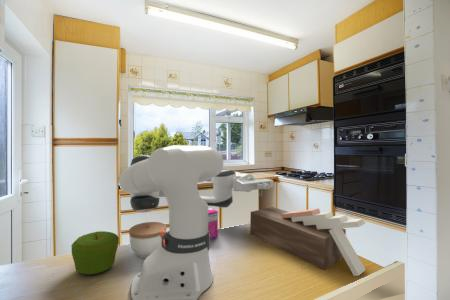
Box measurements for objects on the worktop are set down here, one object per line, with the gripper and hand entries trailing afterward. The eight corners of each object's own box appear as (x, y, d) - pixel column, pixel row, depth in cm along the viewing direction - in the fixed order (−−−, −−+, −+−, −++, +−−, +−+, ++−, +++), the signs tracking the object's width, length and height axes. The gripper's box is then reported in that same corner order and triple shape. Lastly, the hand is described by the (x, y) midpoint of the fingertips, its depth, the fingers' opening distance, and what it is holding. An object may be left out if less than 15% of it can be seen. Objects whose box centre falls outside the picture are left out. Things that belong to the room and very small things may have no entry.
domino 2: (292, 221, 86) (325, 219, 75) (291, 217, 86) (324, 214, 76) (299, 219, 89) (333, 216, 78) (298, 215, 89) (331, 211, 79)
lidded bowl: (155, 264, 73) (155, 230, 73) (121, 259, 76) (121, 227, 75) (171, 246, 85) (172, 218, 85) (142, 243, 88) (142, 215, 88)
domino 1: (282, 218, 90) (312, 215, 79) (281, 214, 90) (311, 210, 79) (289, 216, 93) (320, 212, 82) (288, 212, 93) (318, 208, 82)
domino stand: (323, 269, 71) (324, 238, 71) (250, 234, 98) (250, 211, 98) (344, 257, 79) (345, 229, 79) (271, 227, 106) (272, 206, 106)
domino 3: (304, 225, 82) (341, 222, 71) (302, 221, 82) (339, 217, 72) (311, 222, 85) (348, 219, 75) (310, 218, 85) (346, 214, 75)
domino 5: (328, 230, 74) (354, 276, 68) (332, 229, 73) (358, 275, 67) (336, 227, 77) (360, 270, 71) (340, 225, 76) (365, 269, 70)
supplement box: (199, 236, 96) (199, 209, 95) (210, 233, 99) (211, 207, 99) (206, 241, 91) (206, 213, 90) (218, 237, 94) (218, 210, 94)
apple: (64, 284, 62) (64, 244, 62) (80, 261, 74) (80, 228, 73) (113, 277, 65) (113, 239, 65) (121, 257, 77) (121, 224, 77)
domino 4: (317, 229, 78) (358, 227, 67) (315, 224, 78) (356, 221, 68) (324, 226, 81) (365, 223, 70) (323, 221, 81) (363, 218, 71)
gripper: (261, 186, 117) (282, 191, 106) (230, 191, 105) (250, 197, 94) (261, 174, 117) (282, 178, 106) (230, 177, 105) (251, 182, 94)
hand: (267, 187), depth 100 cm, fingers closed
